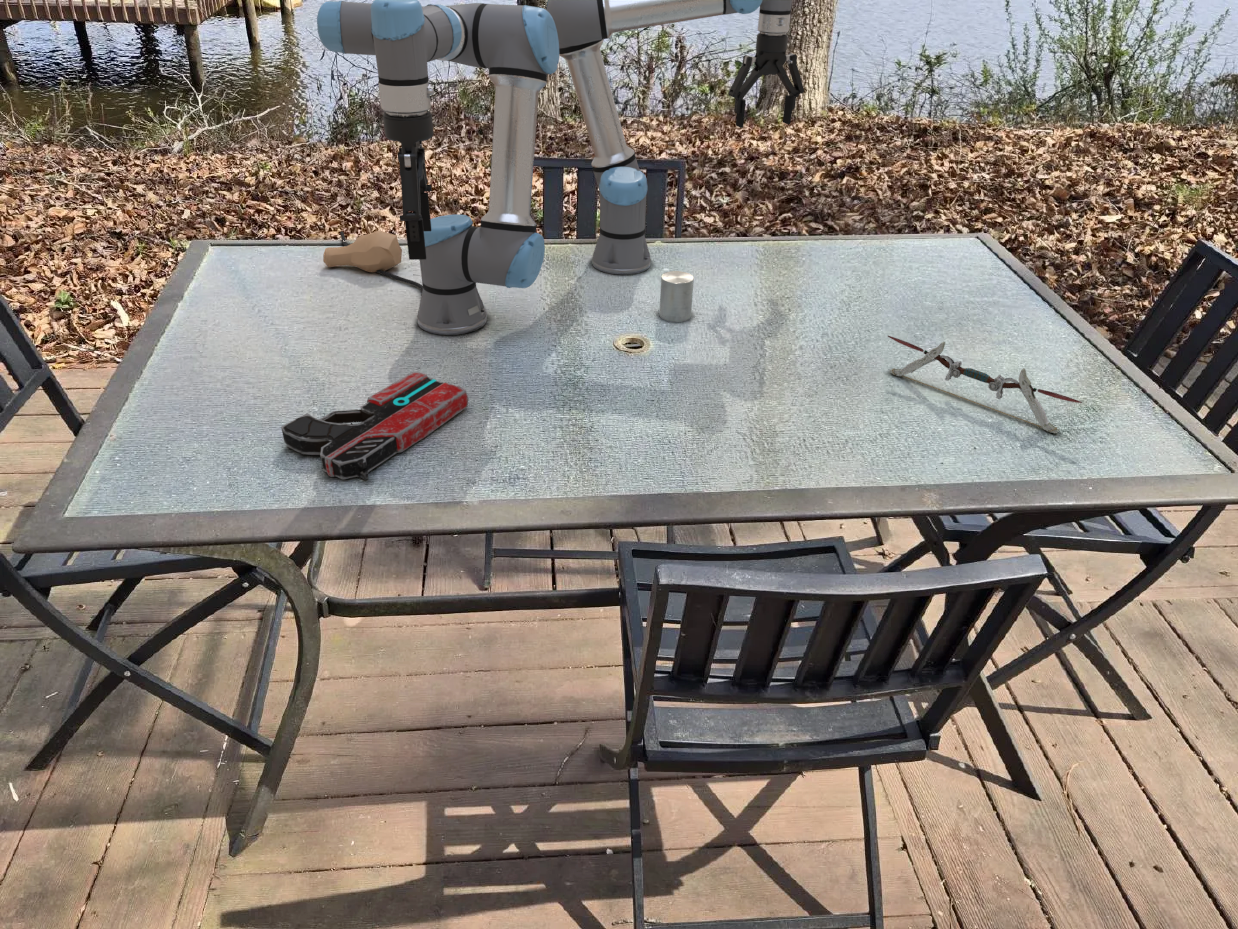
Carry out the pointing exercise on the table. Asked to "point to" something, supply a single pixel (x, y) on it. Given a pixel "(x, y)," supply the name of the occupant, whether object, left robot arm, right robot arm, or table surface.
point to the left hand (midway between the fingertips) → (420, 244)
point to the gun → (376, 425)
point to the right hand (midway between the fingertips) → (763, 124)
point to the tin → (676, 296)
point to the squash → (367, 252)
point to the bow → (994, 384)
